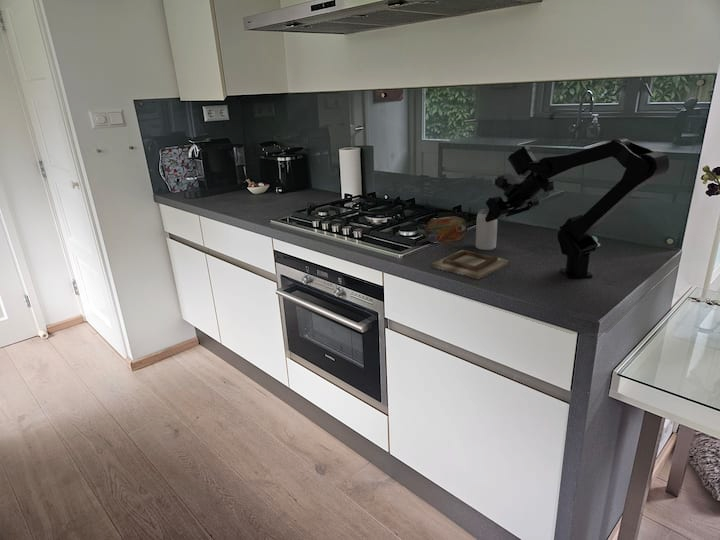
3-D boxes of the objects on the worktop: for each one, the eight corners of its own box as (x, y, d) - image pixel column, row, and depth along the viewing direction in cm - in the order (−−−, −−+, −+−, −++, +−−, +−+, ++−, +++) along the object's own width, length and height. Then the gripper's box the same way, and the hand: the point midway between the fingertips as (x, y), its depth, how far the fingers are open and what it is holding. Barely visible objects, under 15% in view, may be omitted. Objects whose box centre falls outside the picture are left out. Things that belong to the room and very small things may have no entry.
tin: (426, 245, 164) (426, 220, 162) (423, 242, 167) (423, 218, 164) (467, 239, 168) (468, 216, 165) (463, 237, 171) (464, 214, 168)
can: (496, 250, 156) (498, 214, 151) (475, 250, 157) (477, 214, 153) (495, 244, 162) (497, 209, 157) (475, 244, 163) (476, 209, 159)
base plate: (508, 264, 144) (508, 256, 143) (479, 279, 134) (479, 272, 133) (462, 253, 155) (462, 246, 154) (431, 267, 144) (431, 260, 144)
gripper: (534, 162, 148) (502, 192, 160) (492, 170, 138) (462, 202, 150) (554, 192, 144) (520, 220, 157) (513, 202, 135) (480, 232, 147)
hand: (496, 218), depth 153 cm, fingers open, 9 cm apart
